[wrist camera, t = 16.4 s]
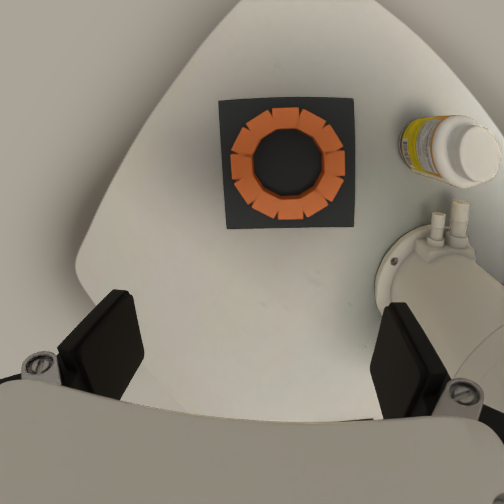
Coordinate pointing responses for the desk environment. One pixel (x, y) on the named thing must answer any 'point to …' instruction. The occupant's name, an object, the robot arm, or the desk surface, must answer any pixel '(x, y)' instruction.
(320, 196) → the ring
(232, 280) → the desk surface
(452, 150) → the supplement bottle
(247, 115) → the mat
